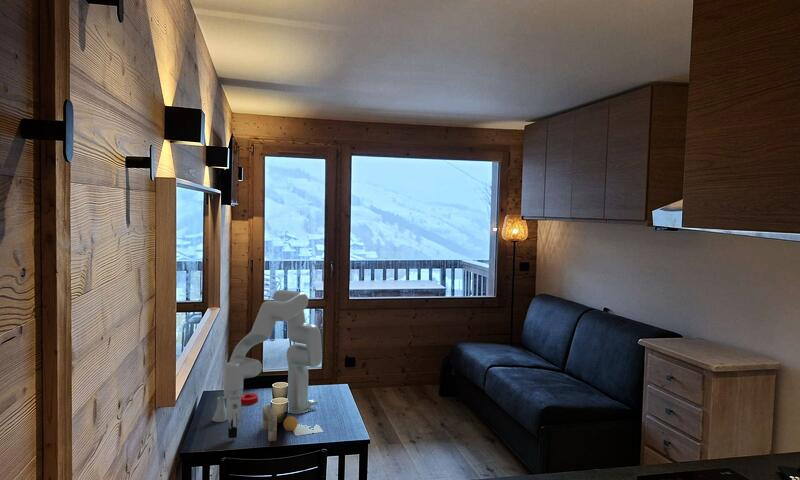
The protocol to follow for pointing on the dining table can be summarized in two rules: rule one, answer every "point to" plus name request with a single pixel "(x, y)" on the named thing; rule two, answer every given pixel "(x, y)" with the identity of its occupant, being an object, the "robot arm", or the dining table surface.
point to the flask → (220, 411)
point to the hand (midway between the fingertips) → (232, 437)
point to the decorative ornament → (249, 399)
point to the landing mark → (306, 430)
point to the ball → (290, 423)
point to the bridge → (269, 422)
